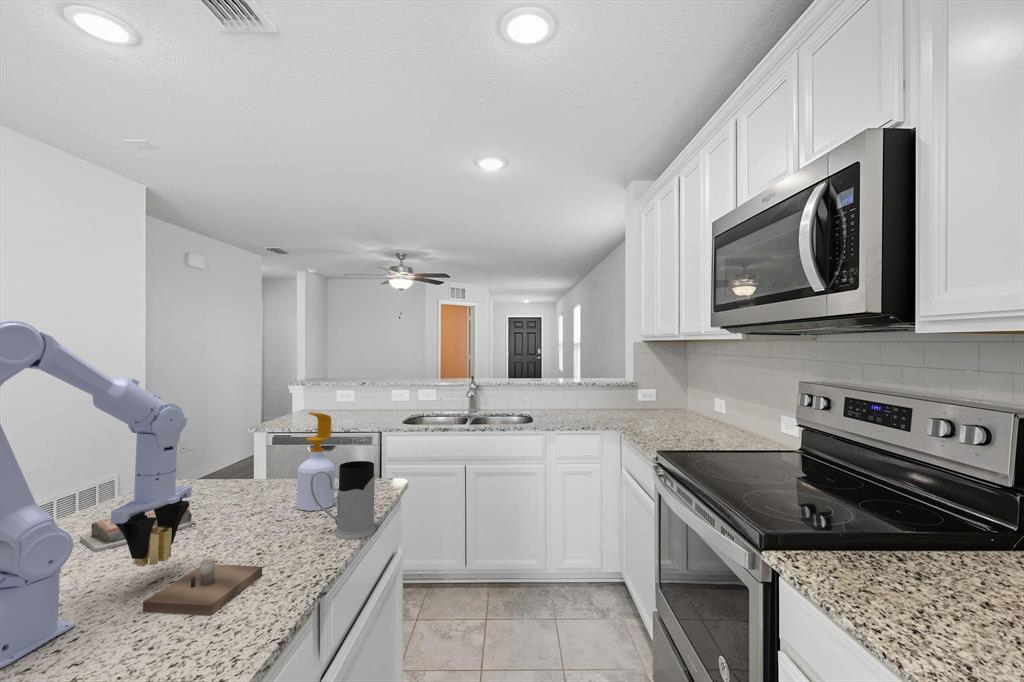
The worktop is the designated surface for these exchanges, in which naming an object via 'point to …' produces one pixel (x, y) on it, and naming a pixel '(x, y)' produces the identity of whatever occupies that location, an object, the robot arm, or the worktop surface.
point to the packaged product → (119, 532)
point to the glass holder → (353, 500)
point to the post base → (203, 589)
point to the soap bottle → (315, 465)
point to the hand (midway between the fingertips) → (152, 551)
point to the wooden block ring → (157, 546)
